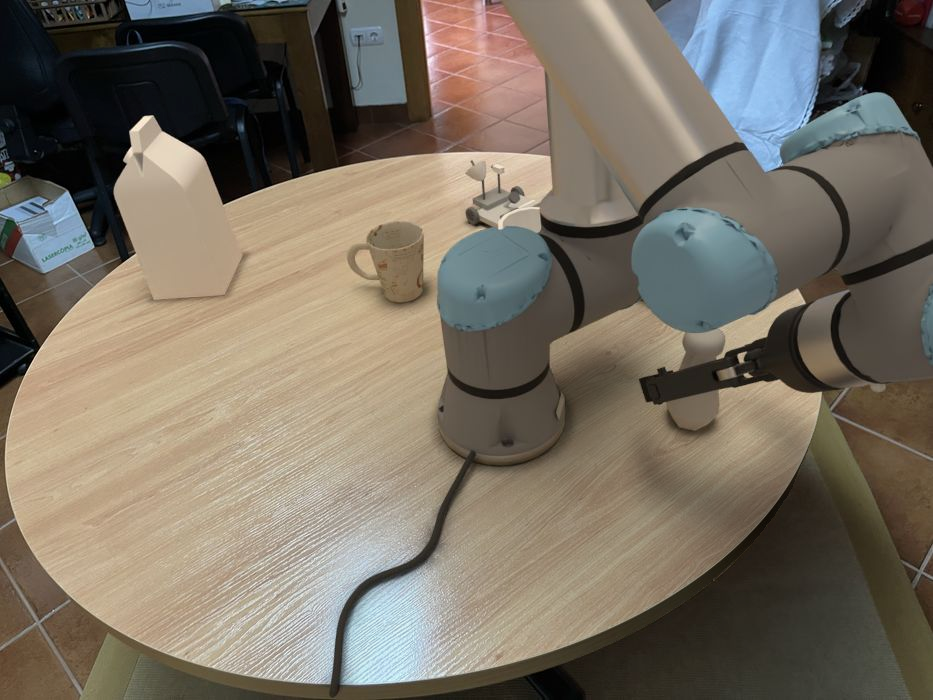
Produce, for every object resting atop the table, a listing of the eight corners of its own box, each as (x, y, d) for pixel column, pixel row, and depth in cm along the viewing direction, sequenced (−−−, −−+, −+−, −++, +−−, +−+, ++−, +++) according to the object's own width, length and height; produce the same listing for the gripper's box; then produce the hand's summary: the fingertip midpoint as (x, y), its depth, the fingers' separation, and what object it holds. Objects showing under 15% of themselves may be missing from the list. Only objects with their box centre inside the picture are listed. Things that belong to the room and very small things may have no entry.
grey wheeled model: (451, 165, 118) (501, 144, 123) (456, 216, 124) (504, 194, 129) (524, 197, 106) (576, 172, 112) (525, 252, 112) (575, 226, 118)
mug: (423, 309, 102) (414, 250, 96) (343, 304, 105) (330, 247, 99) (436, 278, 109) (429, 221, 102) (360, 274, 111) (349, 219, 105)
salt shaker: (685, 394, 84) (699, 308, 76) (726, 418, 81) (746, 330, 72) (654, 417, 82) (666, 331, 73) (695, 443, 78) (712, 355, 70)
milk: (224, 295, 109) (167, 136, 93) (153, 299, 110) (84, 143, 94) (243, 255, 119) (193, 105, 102) (177, 259, 119) (118, 111, 103)
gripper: (716, 433, 53) (609, 438, 73) (970, 346, 58) (803, 373, 79) (685, 340, 53) (587, 371, 74) (939, 262, 59) (782, 311, 79)
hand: (699, 372), depth 76 cm, fingers open, 13 cm apart
